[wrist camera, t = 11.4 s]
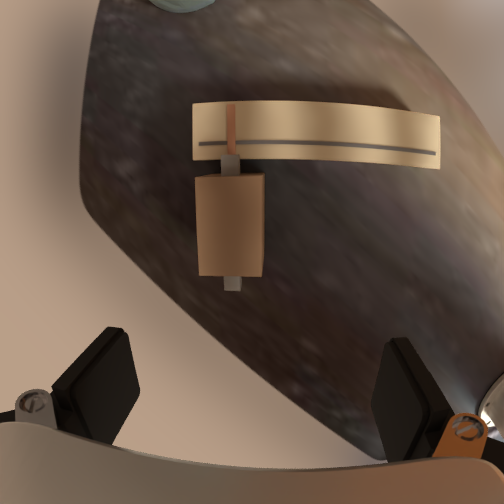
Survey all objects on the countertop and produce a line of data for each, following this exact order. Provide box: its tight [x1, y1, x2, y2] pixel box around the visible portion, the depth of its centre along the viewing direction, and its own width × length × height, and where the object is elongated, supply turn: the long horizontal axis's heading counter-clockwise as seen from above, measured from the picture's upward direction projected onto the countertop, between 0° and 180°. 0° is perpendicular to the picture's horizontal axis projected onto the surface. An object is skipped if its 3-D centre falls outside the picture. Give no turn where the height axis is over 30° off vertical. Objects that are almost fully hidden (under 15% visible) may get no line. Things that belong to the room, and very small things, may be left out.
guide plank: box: [193, 101, 440, 169], centre depth 24 cm, size 20×4×4 cm, turn 90°
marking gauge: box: [195, 155, 265, 291], centre depth 25 cm, size 4×10×7 cm, turn 0°
